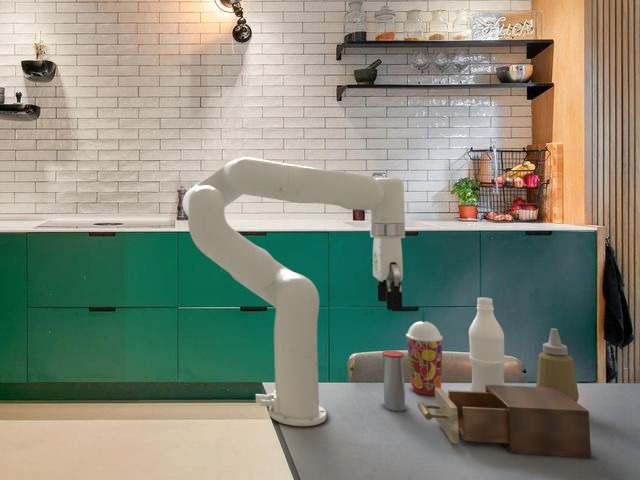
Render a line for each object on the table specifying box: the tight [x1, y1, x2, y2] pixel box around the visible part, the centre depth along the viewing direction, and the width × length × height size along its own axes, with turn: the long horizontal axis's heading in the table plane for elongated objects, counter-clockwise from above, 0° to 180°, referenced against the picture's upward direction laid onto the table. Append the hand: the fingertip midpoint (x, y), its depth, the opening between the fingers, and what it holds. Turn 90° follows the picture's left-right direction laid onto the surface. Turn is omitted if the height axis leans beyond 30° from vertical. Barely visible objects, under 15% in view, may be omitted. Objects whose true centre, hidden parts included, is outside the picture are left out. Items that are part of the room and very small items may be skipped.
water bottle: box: [468, 296, 506, 392], centre depth 129 cm, size 7×7×25 cm
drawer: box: [417, 387, 509, 444], centre depth 114 cm, size 17×11×7 cm
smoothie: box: [405, 309, 443, 396], centre depth 140 cm, size 8×8×20 cm
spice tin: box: [381, 350, 406, 412], centre depth 130 cm, size 5×5×12 cm
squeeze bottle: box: [535, 328, 580, 403], centre depth 128 cm, size 8×8×18 cm
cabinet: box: [485, 385, 592, 459], centre depth 112 cm, size 14×13×9 cm
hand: (389, 305), depth 130 cm, fingers open, 9 cm apart
